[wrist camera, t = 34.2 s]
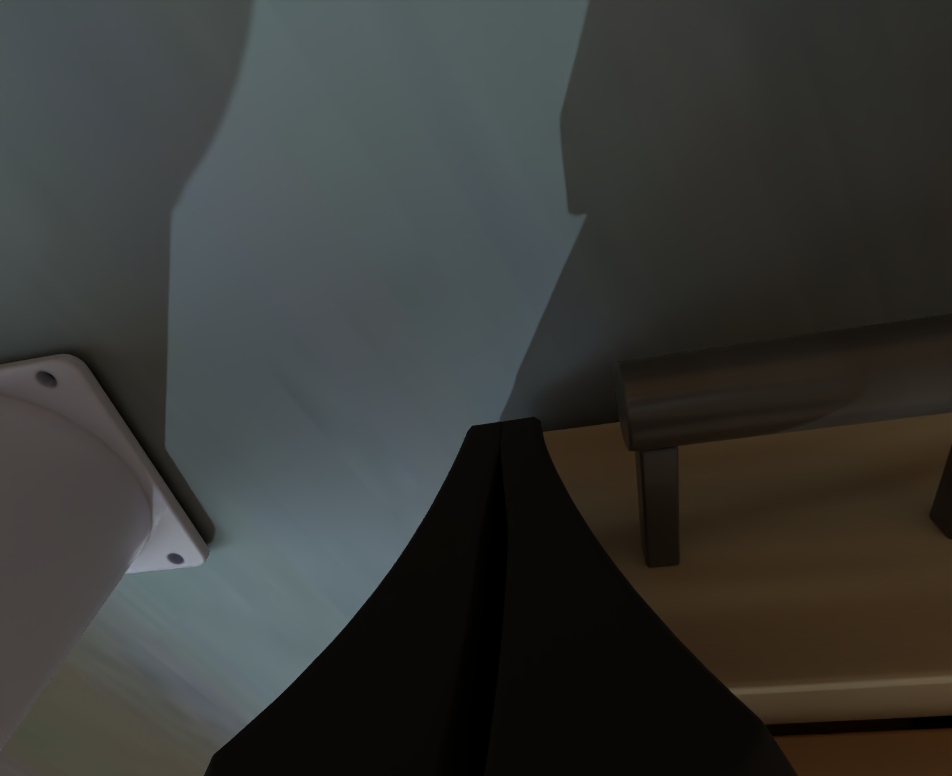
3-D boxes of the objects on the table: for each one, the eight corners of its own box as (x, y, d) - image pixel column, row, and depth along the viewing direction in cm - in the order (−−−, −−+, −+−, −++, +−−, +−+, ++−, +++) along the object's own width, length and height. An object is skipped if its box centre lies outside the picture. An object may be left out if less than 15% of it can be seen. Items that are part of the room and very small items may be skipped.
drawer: (461, 287, 12) (420, 513, 7) (1049, 185, 11) (1669, 373, 5) (556, 696, 21) (573, 944, 15) (887, 676, 19) (1043, 948, 14)
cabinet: (484, 452, 16) (462, 802, 9) (975, 389, 14) (1459, 771, 7) (547, 704, 23) (564, 1012, 16) (879, 686, 21) (1069, 1025, 14)
